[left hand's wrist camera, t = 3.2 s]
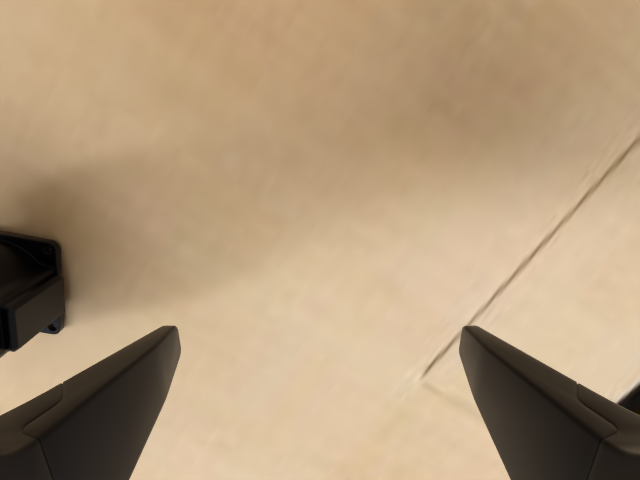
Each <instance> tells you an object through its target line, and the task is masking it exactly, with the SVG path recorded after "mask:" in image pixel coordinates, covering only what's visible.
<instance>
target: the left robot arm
mask: <svg viewBox="0 0 640 480" xmlns="http://www.w3.org/2000/svg"><path fill="white" fill-rule="evenodd" d="M48 247H50V248H51V250H52V251H50V250H49V249H48ZM64 311H65V306H64V285H63V277H62V270H61V249H60V246H59V244H58V243H57V242H55V241H53V240H49V239H43V238H38V237H32V236H26V235H21V234H15V233H10V232H4V231H0V358H1V357H2V356H3V355H4V354H6V353H7V352H8V351H13V352H15V351H17V350H18V349H19V348H21V347H22V346H23V345H24V344H26V343H27V342H28V341H29V340H30V339H32V338H33V337H34V336H35V335H37V334H38V333H39V332H42V333H49V334H57V333H59V332H60V331H61V330H62V329H63V328H64ZM53 325H55V326H56V327H54V326H53ZM180 354H181V346H180V340H179V333H178V329H177V327H176V326H162V327H160V328H158V329H157V330H155V331H153V332H151V333H149V334H148V335H146V336H144V337H142V338H141V339H139V340H137V341H135V342H134V343H132V344H130V345H128V346H126V347H125V348H123V349H121V350H119V351H118V352H116V353H114V354H112V355H111V356H109V357H107V358H105V359H103V360H102V361H100V362H98V363H96V364H95V365H93V366H91V367H89V368H88V369H86V370H84V371H82V372H80V373H79V374H77V375H75V376H73V377H72V378H70V379H68V380H66V381H64V382H63V384H59V385H57V386H56V387H54V388H52V389H50V390H49V391H47V392H45V393H43V394H41V395H39V396H38V397H36V398H34V399H32V400H30V401H28V402H26V403H24V404H22V405H20V406H18V407H16V408H15V409H13V410H11V411H9V412H7V413H5V414H3V415H1V416H0V480H129V479H130V477H131V475H132V472H133V470H134V468H135V466H136V464H137V461H138V459H139V457H140V455H141V453H142V450H143V448H144V446H145V444H146V442H147V439H148V437H149V435H150V433H151V431H152V429H153V426H154V424H155V422H156V420H157V418H158V415H159V413H160V411H161V409H162V407H163V404H164V402H165V400H166V397H167V394H168V391H169V388H170V385H171V382H172V379H173V376H174V373H175V370H176V367H177V364H178V361H179V357H180ZM459 354H460V357H461V361H462V364H463V367H464V370H465V373H466V376H467V379H468V382H469V385H470V388H471V391H472V394H473V397H474V400H475V402H476V404H477V407H478V409H479V411H480V413H481V415H482V418H483V420H484V422H485V424H486V426H487V429H488V431H489V433H490V435H491V437H492V439H493V442H494V444H495V446H496V448H497V450H498V453H499V455H500V457H501V459H502V461H503V464H504V466H505V468H506V470H507V472H508V475H509V477H510V479H511V480H640V416H639V415H637V414H635V413H633V412H631V411H629V410H627V409H625V408H624V407H622V406H620V405H618V404H616V403H614V402H612V401H610V400H608V399H606V398H604V397H602V396H601V395H599V394H597V393H595V392H593V391H591V390H590V389H588V388H586V387H584V386H583V385H581V384H577V382H576V381H574V380H572V379H570V378H568V377H567V376H565V375H563V374H561V373H560V372H558V371H556V370H554V369H552V368H551V367H549V366H547V365H545V364H544V363H542V362H540V361H538V360H537V359H535V358H533V357H531V356H529V355H528V354H526V353H524V352H522V351H521V350H519V349H517V348H515V347H514V346H512V345H510V344H508V343H506V342H505V341H503V340H501V339H499V338H498V337H496V336H494V335H492V334H490V333H489V332H487V331H485V330H483V329H482V328H480V327H478V326H464V327H463V329H462V333H461V339H460V346H459Z"/></svg>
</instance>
